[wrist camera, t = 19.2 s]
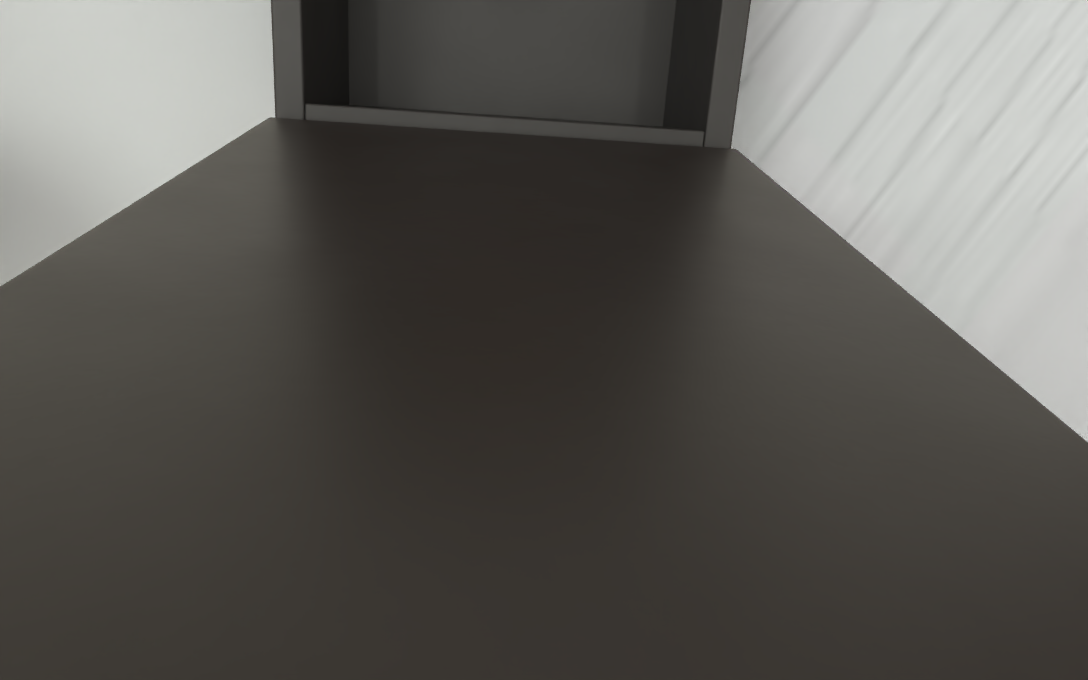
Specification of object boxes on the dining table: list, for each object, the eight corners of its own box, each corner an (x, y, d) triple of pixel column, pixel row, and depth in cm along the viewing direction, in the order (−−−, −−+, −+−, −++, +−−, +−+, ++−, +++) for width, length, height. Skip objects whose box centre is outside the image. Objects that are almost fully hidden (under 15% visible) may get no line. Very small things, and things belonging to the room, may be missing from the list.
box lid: (-631, 677, 4) (-546, 766, 5) (1421, 714, 5) (1355, 789, 5) (268, 116, 20) (271, 147, 20) (737, 148, 20) (731, 177, 21)
